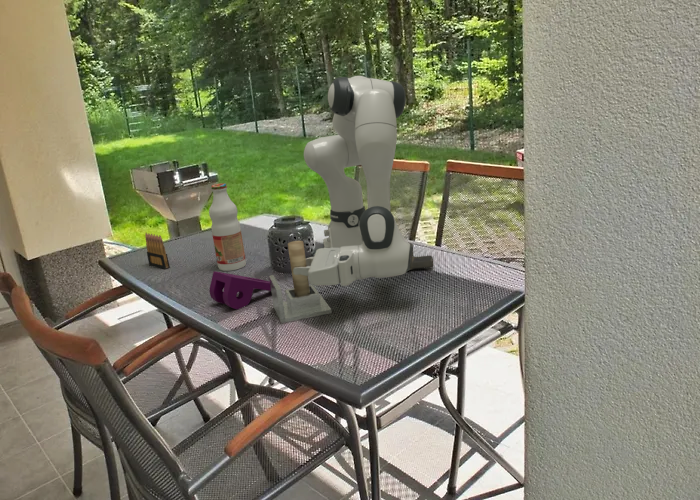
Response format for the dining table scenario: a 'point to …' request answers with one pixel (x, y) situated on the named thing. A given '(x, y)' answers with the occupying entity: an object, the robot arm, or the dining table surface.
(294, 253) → the tan wooden cylinder
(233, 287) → the mounting bracket
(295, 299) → the cup bracket
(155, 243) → the ammunition clip
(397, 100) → the robot arm
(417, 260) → the pipe
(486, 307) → the dining table surface
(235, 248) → the fruit juice
